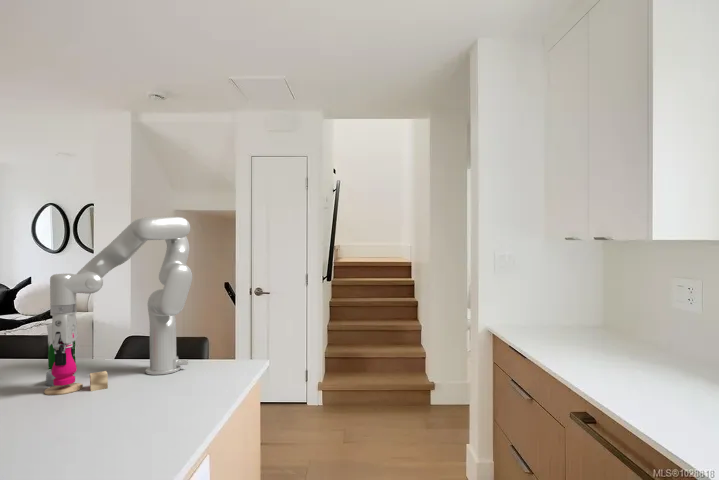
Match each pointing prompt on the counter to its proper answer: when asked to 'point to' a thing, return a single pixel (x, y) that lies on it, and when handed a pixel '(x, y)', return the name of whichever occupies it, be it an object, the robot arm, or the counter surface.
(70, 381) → the pepper mill
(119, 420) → the counter surface
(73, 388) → the cork trivet
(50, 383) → the grey rounded dome
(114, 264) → the robot arm
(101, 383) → the oak block
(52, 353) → the milk carton
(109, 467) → the counter surface
